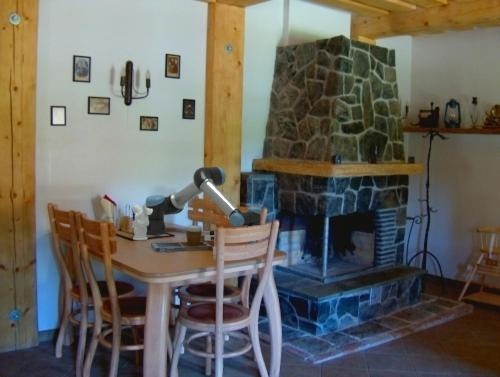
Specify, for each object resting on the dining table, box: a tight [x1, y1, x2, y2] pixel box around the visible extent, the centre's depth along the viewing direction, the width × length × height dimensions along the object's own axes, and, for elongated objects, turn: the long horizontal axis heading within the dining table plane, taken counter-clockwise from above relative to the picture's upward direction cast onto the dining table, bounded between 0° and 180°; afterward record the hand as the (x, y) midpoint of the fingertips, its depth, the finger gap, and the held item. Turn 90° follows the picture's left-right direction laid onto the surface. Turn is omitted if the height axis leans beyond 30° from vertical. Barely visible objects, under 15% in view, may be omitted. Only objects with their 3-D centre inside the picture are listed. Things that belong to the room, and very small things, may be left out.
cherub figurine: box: [131, 203, 153, 241], centre depth 344 cm, size 12×12×22 cm
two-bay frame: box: [150, 240, 213, 253], centre depth 322 cm, size 20×31×2 cm, turn 109°
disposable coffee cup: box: [185, 224, 204, 247], centre depth 323 cm, size 10×10×12 cm
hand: (201, 235), depth 324 cm, fingers open, 13 cm apart
